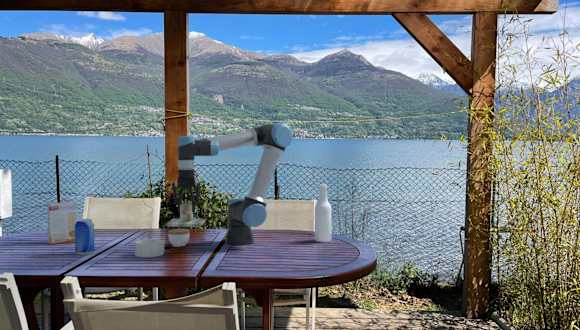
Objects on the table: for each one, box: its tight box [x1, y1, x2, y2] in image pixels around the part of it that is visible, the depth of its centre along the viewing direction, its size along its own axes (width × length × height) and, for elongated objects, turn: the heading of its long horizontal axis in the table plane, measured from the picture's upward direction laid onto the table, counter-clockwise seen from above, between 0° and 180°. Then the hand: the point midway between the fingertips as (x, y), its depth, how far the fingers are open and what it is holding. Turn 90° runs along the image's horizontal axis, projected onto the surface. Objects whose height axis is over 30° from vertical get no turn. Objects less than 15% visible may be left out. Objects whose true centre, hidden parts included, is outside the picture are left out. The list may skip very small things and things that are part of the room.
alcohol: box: [314, 183, 332, 243], centre depth 284 cm, size 9×9×30 cm
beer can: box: [74, 218, 95, 256], centre depth 254 cm, size 8×8×16 cm
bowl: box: [134, 238, 165, 258], centre depth 253 cm, size 13×13×6 cm
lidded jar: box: [167, 227, 191, 248], centre depth 273 cm, size 11×11×9 cm
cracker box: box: [46, 201, 79, 245], centre depth 281 cm, size 14×6×21 cm, turn 123°
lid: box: [165, 203, 207, 228], centre depth 252 cm, size 16×16×9 cm
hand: (186, 218), depth 252 cm, fingers closed on lid, 4 cm apart
